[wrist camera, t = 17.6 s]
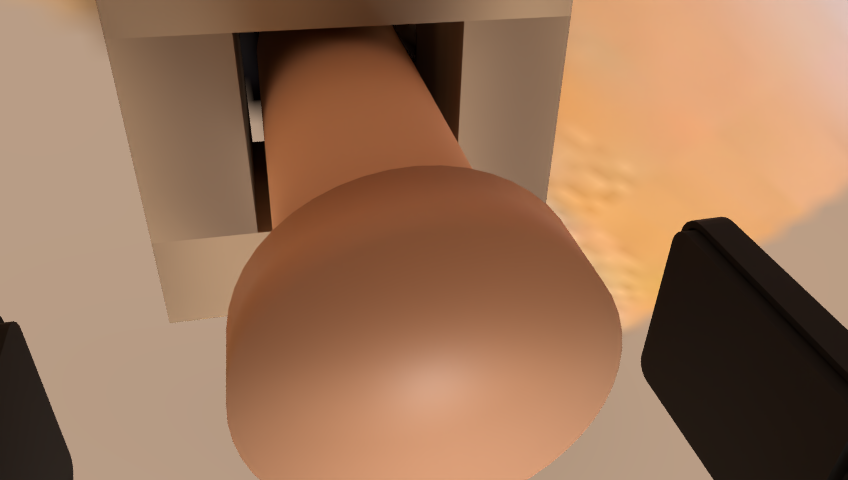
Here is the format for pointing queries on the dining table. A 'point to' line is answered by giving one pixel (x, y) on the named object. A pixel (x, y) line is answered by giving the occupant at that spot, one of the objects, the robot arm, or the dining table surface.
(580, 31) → the dining table surface
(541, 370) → the pin
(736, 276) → the robot arm
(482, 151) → the brown wooden compartment box
